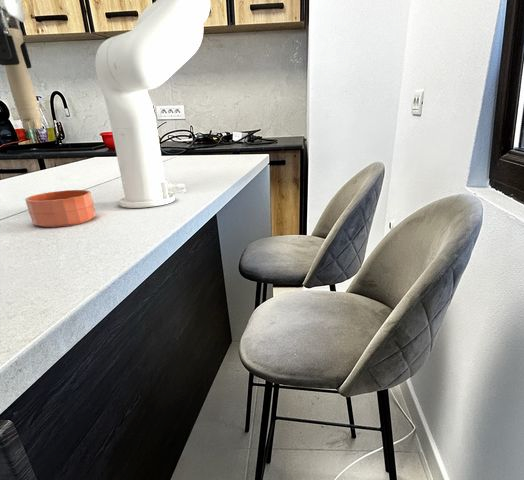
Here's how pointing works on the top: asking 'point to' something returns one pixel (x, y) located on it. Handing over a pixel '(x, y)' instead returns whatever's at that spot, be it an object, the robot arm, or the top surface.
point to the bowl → (61, 208)
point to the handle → (23, 87)
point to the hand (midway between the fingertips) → (16, 65)
